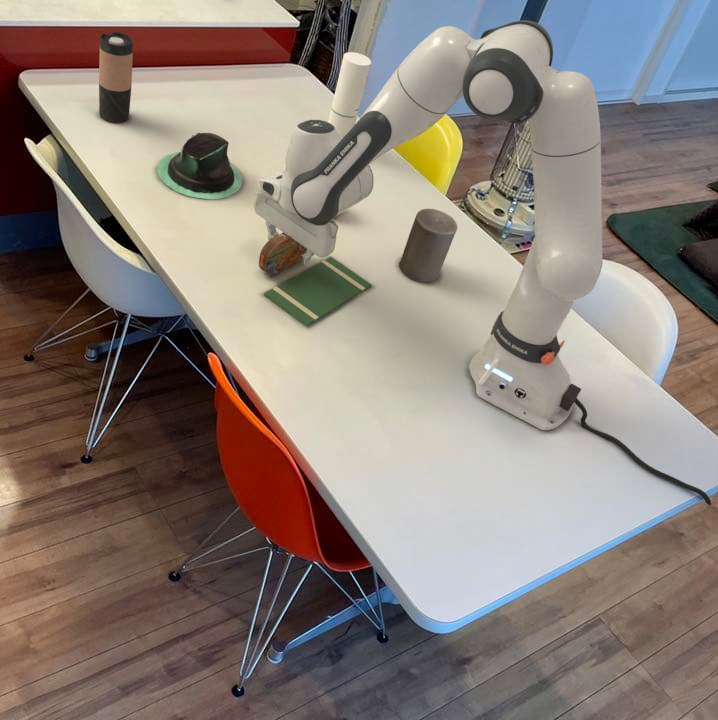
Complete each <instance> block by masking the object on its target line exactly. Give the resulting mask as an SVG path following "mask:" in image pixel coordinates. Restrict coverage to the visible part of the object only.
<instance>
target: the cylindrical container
mask: <svg viewBox="0 0 718 720" xmlns="http://www.w3.org/2000/svg"><path fill="white" fill-rule="evenodd" d="M371 65H372V60H371V59H370V58H369V57H368V56H367V55H364V54H361V53H358V52H353V51H351V52H350V51H349V52H345V53H344V54H343V57H342V62H341V66H340V68H339V69H340V70H339V75H338V79H337V81H336V86H335V91H334V95H333V99H332V104H331V108H330V113H329V117H328V121H327V122H328V123H330V124H332V125H333V126H334V127H335V128H336V130H337V133H338V135H339V137H340V139H341V140H342V139H343V138H344V136H345V135H346V134H347V133H348V132H349V131H350V130H351V129H352V128H353V126H354V125H355V124H356V123H357V118H358V115H359V111H360V108H361V103H362V99H363V96H364V92H365V87H366V83H367V80H368V77H369V73H370V68H371Z"/></svg>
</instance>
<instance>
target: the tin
mask: <svg viewBox="0 0 718 720" xmlns="http://www.w3.org/2000/svg"><path fill="white" fill-rule="evenodd" d="M306 252H307V248H305V247H304V246H302V245H301V244H300V243H298V242H297V241H295V240H294V239H292V238H291V237H289V236H288V235H287V234H285V233H284V232H281V233H279V235H277V236H275V237H273V238H271V239H270V240H269V239H268V240H267V242H266V243H264V245H263V246H262V248H261V250H260V253H259V259H258V267H259V269H260V270H261V271H262V272H263V273H266V275H268V276H269V277H275V276H277V275H280V274H281V273H283V272H285V271H286V270H288V269H290V268H292V267H293V266H296V265H298V264H299V263H302V262H301V261H300V259H301V255H303V254H305V253H306ZM307 253H308V252H307Z"/></svg>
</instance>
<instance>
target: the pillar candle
mask: <svg viewBox="0 0 718 720" xmlns="http://www.w3.org/2000/svg"><path fill="white" fill-rule="evenodd" d="M457 231H458V224H457V222H456V220H455V219H454V217H452V216H451V215H449V214H448V213H446V212H443V211H442V210H440V209H435V208H423V209H420V210H419V211H418V212H417V213H416V214H415V217H414V220H413V223H412V226H411V229H410V231H409V234H408V237H407V240H406V243H405V246H404V248H403V252H402V256H401V258H400V261H399V263H398V267H399V269H400V271H401V272H402V273H403V274H404V275H405V276H407V277H408V278H409V279H411V280H413V281H416V282H420V283H431V282H435V281H436V280H437V279H438V278H439V276H440V273H441V270H442V268H443V266H444V263H445V261H446V259H447V256H448V253H449V250H450V248H451V245H452V242H453V240H454V238H455V235H456V232H457Z"/></svg>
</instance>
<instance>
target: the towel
mask: <svg viewBox="0 0 718 720" xmlns="http://www.w3.org/2000/svg"><path fill="white" fill-rule="evenodd" d="M372 286H373V284H372V283H370V282H369V281H367V280H366V279H364V278H363V277H361V276H360V275H358V274H357V273H355V272H354V271H353V270H351V269H350V268H348V267H347V266H345V265H344V264H343V263H341V262H339V261H338V260H337V259H335V258H334V257H332V256H329V257H327V258H325V259H323V260H321V261H320V262H318V263H316V264H314V265H313V266H311V267H309V268H307V269H306V270H303V271H302V272H300V273H298V274H296V275H294V276H292V277H291V278H289V279H287V280H286V281H284V282H282V283H280V284H278V285H276V286H273V287H272V288H271V289H269V290H267V291H265V292H264V293H263V296H264V297H266V298H267V299H268V300H270V301H271V302H273V303H274V304H275V305H276V306H278V307H279V308H280V309H282V310H284V311H285V312H286V313H288V314H289V315H290V316H291V317H293V318H294V319H296V320H297V321H299V322H300V323H301V324H303V326H305V327H308V326H311V325H312V324H313V323H315V322H317V321H318V320H320V319H322V318H323V317H325V316H326V315H328V314H330V313H331V312H333V311H334V310H336V309H338V308H339V307H341V306H342V305H344V304H346V303H347V302H349V301H351V300H353V298H355V297H357V296H358V295H360V294H362V293H363V292H365V291H367V290H368V289H370V288H371V287H372Z"/></svg>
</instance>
